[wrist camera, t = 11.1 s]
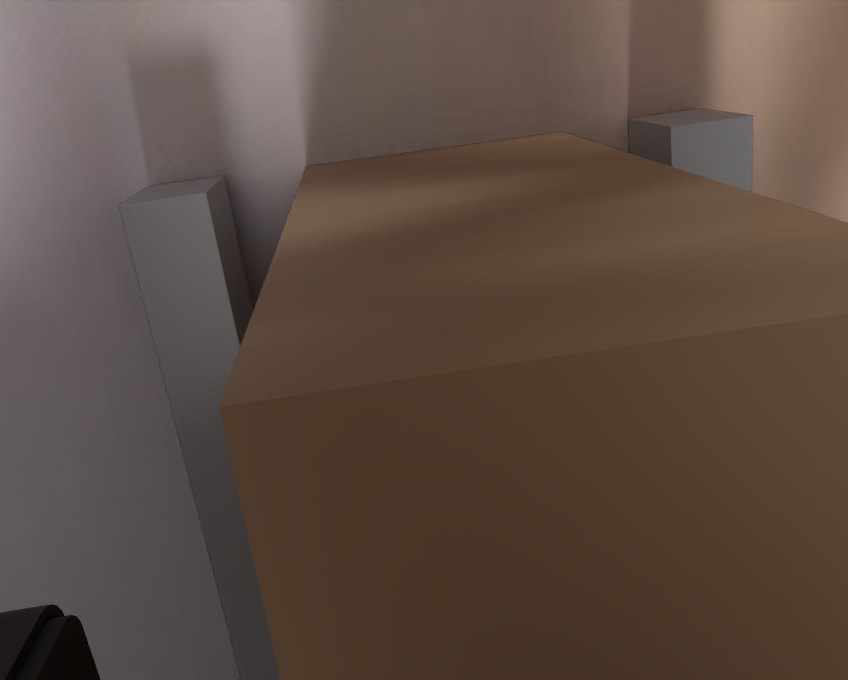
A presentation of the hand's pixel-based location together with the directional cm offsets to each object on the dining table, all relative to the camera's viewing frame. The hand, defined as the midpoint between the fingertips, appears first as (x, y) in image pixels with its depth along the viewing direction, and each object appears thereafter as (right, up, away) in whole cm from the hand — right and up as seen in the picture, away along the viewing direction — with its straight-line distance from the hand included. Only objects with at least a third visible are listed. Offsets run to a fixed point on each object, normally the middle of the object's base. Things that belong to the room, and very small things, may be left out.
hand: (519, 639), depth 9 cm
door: (0, +1, +4) cm, 4 cm away
